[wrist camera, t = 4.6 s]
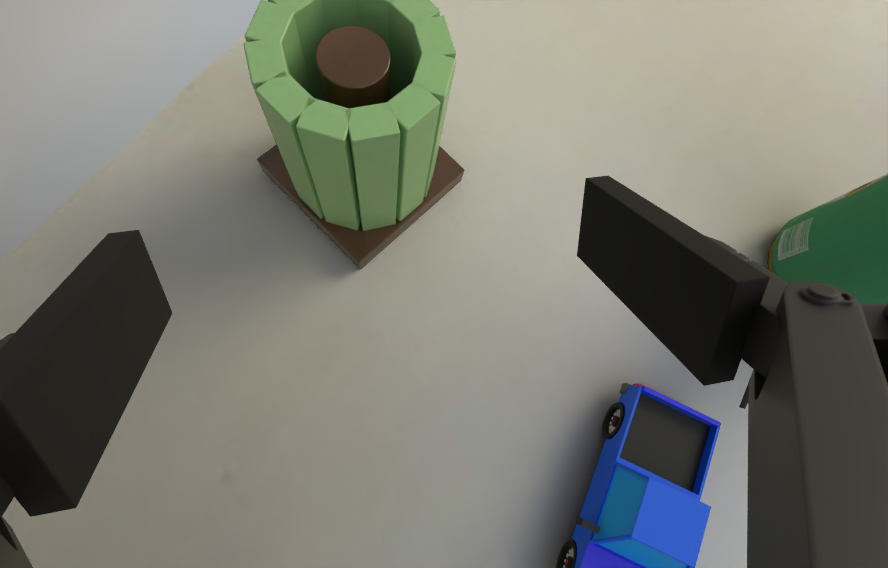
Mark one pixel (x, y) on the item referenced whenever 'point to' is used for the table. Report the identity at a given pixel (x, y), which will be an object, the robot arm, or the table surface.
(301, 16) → the green tube
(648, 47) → the table surface
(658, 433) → the toy car
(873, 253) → the beverage can
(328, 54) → the stacking stand
